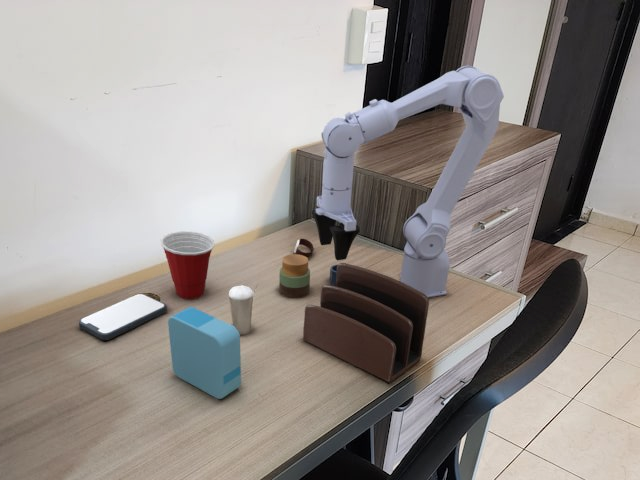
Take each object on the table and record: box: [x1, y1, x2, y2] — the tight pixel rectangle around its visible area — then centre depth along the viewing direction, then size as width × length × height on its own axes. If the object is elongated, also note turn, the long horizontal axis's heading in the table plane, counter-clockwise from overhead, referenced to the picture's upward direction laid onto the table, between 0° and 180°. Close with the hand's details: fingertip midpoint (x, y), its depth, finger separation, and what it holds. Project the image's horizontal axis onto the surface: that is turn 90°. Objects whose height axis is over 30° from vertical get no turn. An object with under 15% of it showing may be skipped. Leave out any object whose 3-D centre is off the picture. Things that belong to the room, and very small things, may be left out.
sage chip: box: [279, 267, 311, 288], centre depth 130 cm, size 6×6×2 cm
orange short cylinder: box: [281, 253, 309, 277], centre depth 129 cm, size 5×5×3 cm
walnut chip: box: [278, 280, 311, 299], centre depth 132 cm, size 6×6×2 cm
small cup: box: [329, 263, 339, 286], centre depth 136 cm, size 4×4×3 cm
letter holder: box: [302, 262, 430, 384], centre depth 110 cm, size 10×20×14 cm, turn 47°
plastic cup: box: [160, 230, 216, 300], centre depth 128 cm, size 11×11×12 cm
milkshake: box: [228, 283, 259, 336], centre depth 116 cm, size 5×5×10 cm
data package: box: [167, 306, 242, 400], centre depth 101 cm, size 12×4×12 cm, turn 51°
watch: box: [293, 238, 315, 259], centre depth 147 cm, size 8×5×4 cm, turn 174°
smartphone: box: [78, 293, 168, 341], centre depth 121 cm, size 9×2×16 cm
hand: (333, 251), depth 126 cm, fingers open, 7 cm apart
